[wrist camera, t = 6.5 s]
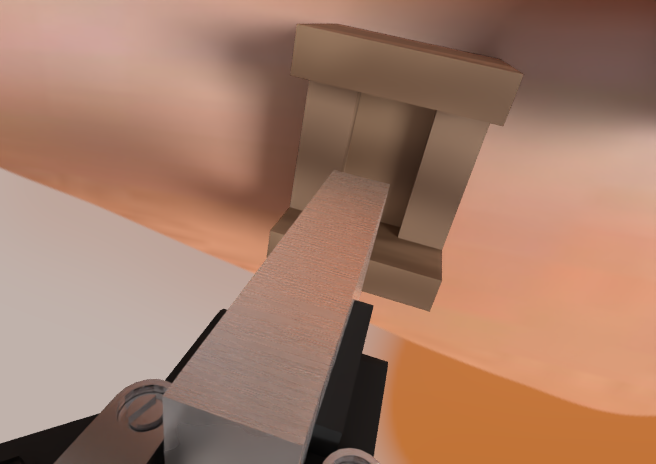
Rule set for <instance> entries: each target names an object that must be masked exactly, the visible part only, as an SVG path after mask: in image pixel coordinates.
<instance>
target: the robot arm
mask: <svg viewBox="0 0 656 464" xmlns="http://www.w3.org/2000/svg"><path fill="white" fill-rule="evenodd" d="M372 310H373V305H370V304H367V303H364V302H360V301H357V300H355V301H354V304H353V307H352V310H351V313H350V316H349V319H348V323H347V326H346V329H345V332H344V335H343V338H342V341H341V344H340V347H339V351H338V354H337V357H336V360H335V363H334V366H333V369H332V372H331V375H330V379H329V382H328V385H327V388H326V391H325V394H324V397H323V400H322V403H321V407H320V410H319V413H318V416H317V419H316V422H315V426H314V430H313V434H312V438H311V442H310V446H309V450H308V453H307V457H306V460H305V463H304V464H380V463H379V462H378V461H377V460H376V459H375V458H374V457H373V456H374V450H375V444H376V438H377V431H378V425H379V418H380V412H381V406H382V400H383V394H384V387H385V381H386V374H387V367H388V362H387V361H383V360H380V359H377V358H374V357H371V356H368V355H365V354H362V351H363V347H364V342H365V338H366V334H367V330H368V326H369V322H370V318H371V314H372ZM226 311H227V310H226V309H222V310H220V312H219V313H218V314H217V315H216V316H215V317H214V319H213V320H212V321H211V322H210V324H209V325H208V326H207V328H206V329H205V330H204V332H203V333H202V334H201V335H200V337H199V338H198V339H197V341H196V342H195V343H194V344H193V346H192V347H191V348H190V349H189V350H188V352H187V353H186V354H185V356H184V357H183V358H182V359H181V361H180V362H179V363H178V365H177V366H176V367H175V368H174V370H173V371H172V372H171V373H170V375H169V376H168V377H167V379H166V380H165V381H164V380H160V379H147V380H143V381H140V382H136V383H134V384H132V385H130V386H128V387H126V388H124V389H123V390H122V391H121V392H120V393H119V394H117V395H116V397H114V399H113V400H112V401H111V402H110V403H109V404H108V405H107V406H106V407H105V408H104V409H103V411H102V412H101V413H99V414H96V415H93V416H90V417H86V418H83V419H80V420H76V421H73V422H70V423H67V424H63V425H60V426H57V427H53V428H50V429H47V430H44V431H40V432H37V433H34V434H30V435H27V436H24V437H20V438H18V439H14V440H11V441H7V442H4V443H1V444H0V464H165V455H164V428H163V401H162V396H163V395H164V393H165V392H166V391H167V389H168V388H169V387H170V385H171V384H172V383H173V381H174V380H175V379H176V377H177V376H178V375H179V373H180V372H181V371H182V369H183V368H184V367H185V366H186V364H187V363H188V362H189V360H190V359H191V358H192V356H193V355H194V354H195V352H196V351H197V350H198V348H199V347H200V346H201V344H202V343H203V342H204V340H205V339H206V338H207V337H208V335H209V334H210V333H211V331H212V330H213V329H214V327H215V326H216V325H217V323H218V322H219V321H220V319H221V318H222V317H223V315H224V314H225V313H226Z"/></svg>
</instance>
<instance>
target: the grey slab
mask: <svg viewBox="0 0 656 464" xmlns="http://www.w3.org/2000/svg"><path fill="white" fill-rule="evenodd" d="M389 186H390V184H387V183H383V182H379V181H375V180H371V179H367V178H363V177H360V176H356V175H352V174H348V173H344V172H340V171H336V170H333V172H332V173H331V174H330V176H329V177H328V178H327V180H326V181H325V182H324V184H323V185H322V186H321V188H320V189H319V190H318V191H317V193H316V194H315V195H314V197H313V198H312V199H311V201H310V202H309V203H308V205H307V206H306V207H305V209H304V210H303V211H302V213H301V214H300V215H299V217H298V218H297V219H296V220H295V222H294V223H293V224H292V226H291V227H290V228H289V230H288V231H287V232H286V234H285V235H284V236H283V238H282V239H281V240H280V242H279V243H278V244H277V246H276V247H275V248H274V249H273V251H272V252H271V253H270V255H269V256H268V257H267V259H266V260H265V261H264V263H263V264H262V265H261V267H260V268H259V269H258V271H257V272H256V273H255V275H254V276H253V277H252V278H251V280H250V281H249V283H248V284H247V285H246V286H245V288H244V289H243V290H242V292H241V293H240V294H239V296H238V297H237V298H236V300H235V301H234V302H233V304H232V305H231V306H230V308H229V309H228V310H227V311H226V313H225V314H224V315H223V317H222V318H221V319H220V321H219V322H218V323H217V325H216V326H215V327H214V329H213V330H212V331H211V333H210V334H209V335H208V337H207V338H206V339H205V340H204V342H203V343H202V344H201V346H200V347H199V348H198V350H197V351H196V352H195V354H194V355H193V356H192V358H191V359H190V360H189V362H188V363H187V364H186V366H185V367H184V368H183V369H182V371H181V372H180V373H179V375H178V376H177V377H176V379H175V380H174V381H173V383H172V384H171V385H170V387H169V388H168V389H167V391H166V392H165V393H164V395H163V396H162V401H163V428H164V455H165V464H304V463H305V460H306V457H307V453H308V450H309V446H310V442H311V438H312V434H313V430H314V426H315V422H316V419H317V416H318V413H319V410H320V407H321V403H322V400H323V397H324V394H325V391H326V388H327V385H328V382H329V379H330V375H331V372H332V369H333V366H334V363H335V360H336V357H337V354H338V351H339V347H340V344H341V341H342V338H343V335H344V332H345V329H346V326H347V323H348V319H349V316H350V313H351V310H352V307H353V304H354V301H355V300H357V301H359V298H360V295H361V291H362V287H363V283H364V280H365V276H366V272H367V268H368V265H369V261H370V257H371V253H372V250H373V246H374V242H375V238H376V235H377V231H378V227H379V224H380V220H381V216H382V212H383V209H384V205H385V201H386V197H387V194H388V190H389Z"/></svg>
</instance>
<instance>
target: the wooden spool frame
mask: <svg viewBox="0 0 656 464" xmlns="http://www.w3.org/2000/svg"><path fill="white" fill-rule="evenodd" d="M523 75H524V74H523V73H521V72H520V71H518V70H516V69H515V68H513V67H512V66H510V65H508V64H507V63H505V62H504V61H502V60H501V59H496V58H492V57H487V56H483V55H478V54H473V53H469V52H464V51H460V50H455V49H450V48H446V47H441V46H437V45H432V44H428V43H423V42H418V41H414V40H409V39H405V38H400V37H395V36H391V35H386V34H382V33H377V32H372V31H368V30H363V29H359V28H354V27H349V26H345V25H340V24H297V26H296V34H295V42H294V50H293V57H292V65H291V73H290V76H295V77H299V78H303V79H307V80H309V84H308V90H307V97H306V104H305V110H304V117H303V123H302V130H301V137H300V143H299V150H298V156H297V163H296V170H295V176H294V183H293V190H292V196H291V203H290V208H289V209H288V210H287V211H286V212H285V214H284V215H283V216H282V217H281V218H280V220H279V221H278V222H277V223H276V224H275V226H274V227H273V228H272V229H271V230H270V236H269V244H268V252H267V257H268V256H269V255H270V253H271V252H272V251H273V249H274V248H275V247H276V246H277V244H278V243H279V242H280V240H281V239H282V238H283V236H284V235H285V234H286V232H287V231H288V230H289V228H290V227H291V226H292V224H293V223H294V222H295V220H296V219H297V218H298V217H299V215H300V214H301V213H302V211H303V210H304V209H305V207H306V206H307V205H308V203H309V202H310V201H311V199H312V198H313V197H314V195H315V194H316V193H317V191H318V190H319V189H320V188H321V186H322V185H323V184H324V182H325V181H326V180H327V178H328V177H329V176H330V174H331V173H332V172H333V170H336V171H340V172H344V173H348V174H352V175H356V176H360V177H363V178H367V179H371V180H375V181H379V182H383V183H387V184H390V186H389V190H388V194H387V197H386V201H385V205H384V209H383V212H382V216H381V220H380V224H379V227H378V231H377V235H376V238H375V242H374V246H373V250H372V253H371V257H370V261H369V265H368V268H367V272H366V276H365V280H364V283H363V287H362V291H363V292H367V293H370V294H373V295H377V296H380V297H383V298H386V299H390V300H393V301H396V302H400V303H403V304H406V305H410V306H413V307H416V308H419V309H423V310H426V311H429V312H430V309H431V307H432V304H433V302H434V299H435V297H436V294H437V292H438V289H439V287H440V284H441V282H442V248H443V246H444V243H445V240H446V238H447V235H448V233H449V230H450V227H451V225H452V222H453V219H454V217H455V214H456V212H457V209H458V206H459V204H460V201H461V198H462V196H463V193H464V190H465V188H466V185H467V183H468V180H469V177H470V175H471V172H472V169H473V167H474V164H475V162H476V159H477V156H478V154H479V151H480V148H481V146H482V143H483V140H484V138H485V135H486V133H487V130H488V127H489V125H490V123H492V124H496V125H500V126H504V123H505V121H506V118H507V116H508V113H509V111H510V108H511V106H512V103H513V101H514V98H515V96H516V93H517V90H518V88H519V85H520V83H521V80H522V78H523Z"/></svg>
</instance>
